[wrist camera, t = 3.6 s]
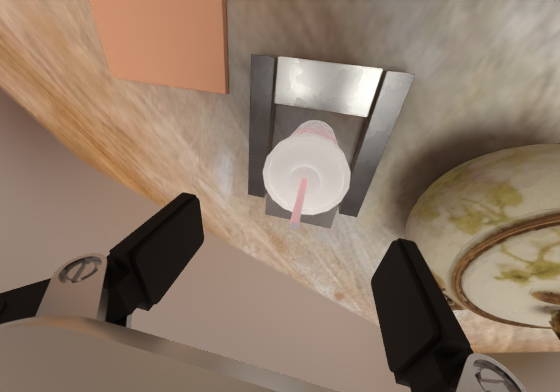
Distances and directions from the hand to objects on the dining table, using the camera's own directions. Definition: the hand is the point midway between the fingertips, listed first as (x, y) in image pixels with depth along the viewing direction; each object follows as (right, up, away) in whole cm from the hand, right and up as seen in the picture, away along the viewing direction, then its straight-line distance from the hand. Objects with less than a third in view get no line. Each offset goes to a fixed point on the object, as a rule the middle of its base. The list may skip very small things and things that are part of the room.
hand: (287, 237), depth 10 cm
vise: (+3, +8, +12) cm, 14 cm away
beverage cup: (+3, +8, +12) cm, 15 cm away
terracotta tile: (-11, +19, +8) cm, 24 cm away
